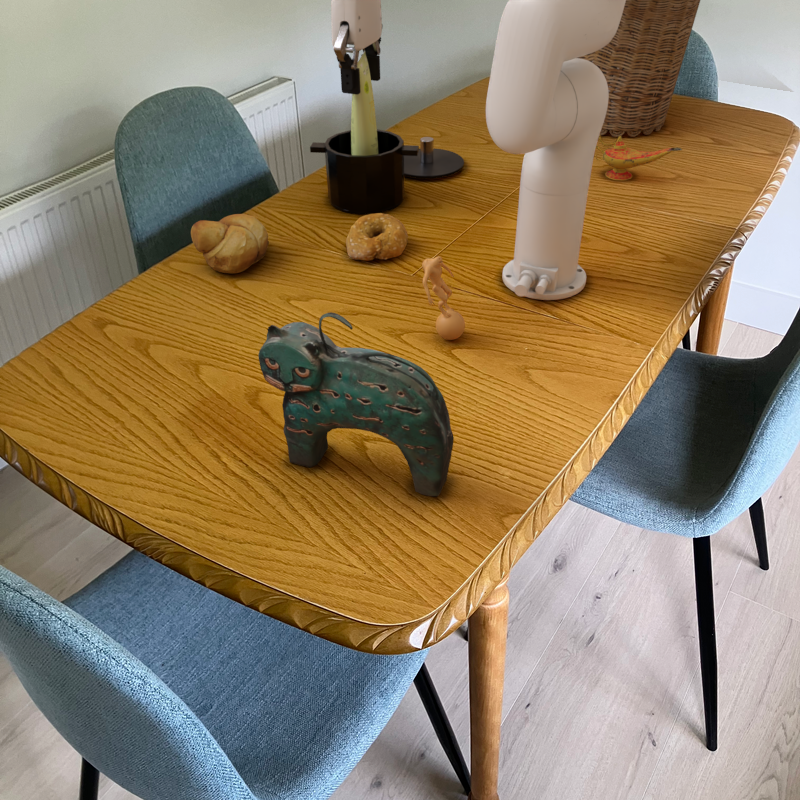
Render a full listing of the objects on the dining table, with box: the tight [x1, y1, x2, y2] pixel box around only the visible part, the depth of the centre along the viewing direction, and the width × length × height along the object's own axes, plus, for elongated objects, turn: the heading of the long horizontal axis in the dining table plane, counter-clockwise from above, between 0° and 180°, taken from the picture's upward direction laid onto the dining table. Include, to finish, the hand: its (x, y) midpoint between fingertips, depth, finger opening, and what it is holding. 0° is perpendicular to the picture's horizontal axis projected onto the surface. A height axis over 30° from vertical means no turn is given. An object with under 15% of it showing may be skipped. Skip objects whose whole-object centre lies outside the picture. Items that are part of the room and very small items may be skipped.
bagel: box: [345, 213, 409, 262], centre depth 125 cm, size 10×11×5 cm
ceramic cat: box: [258, 312, 455, 497], centre depth 79 cm, size 20×6×20 cm, turn 69°
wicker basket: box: [578, 0, 701, 138], centre depth 163 cm, size 35×35×33 cm
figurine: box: [421, 255, 466, 341], centre depth 102 cm, size 8×6×12 cm
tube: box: [350, 51, 378, 156], centre depth 133 cm, size 6×5×20 cm
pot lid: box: [404, 136, 465, 180], centre depth 152 cm, size 15×15×6 cm
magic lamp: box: [595, 135, 683, 181], centre depth 145 cm, size 7×18×11 cm, turn 64°
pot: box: [309, 128, 420, 216], centre depth 139 cm, size 14×19×10 cm
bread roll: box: [190, 213, 270, 274], centre depth 122 cm, size 13×10×8 cm
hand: (361, 85), depth 130 cm, fingers closed on tube, 7 cm apart
